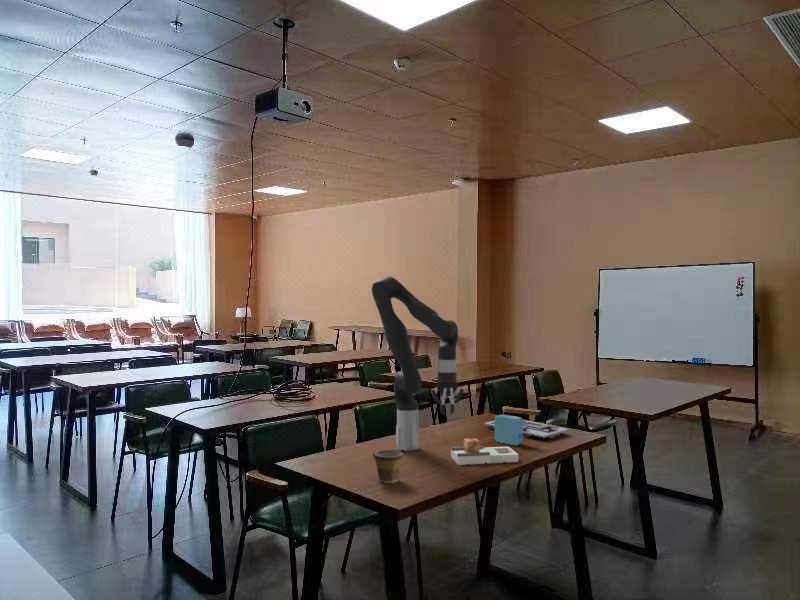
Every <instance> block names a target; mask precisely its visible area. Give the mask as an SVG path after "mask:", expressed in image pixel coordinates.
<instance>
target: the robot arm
mask: <svg viewBox="0 0 800 600" xmlns="http://www.w3.org/2000/svg"><path fill="white" fill-rule="evenodd" d="M371 293H372V297H373V300H374V302H375V306H376V308H377V311H378V314H379V317H380V320H381V323H382V326H383V331H384V334H385V335H384V336H385V339H386V343H387V346H388V349H389V350H390V352H391V354H392V355H393V356H394V358H395V359H396V361H397V362H398V364H399V366H400V370H401V371H399V372H398V373H397V374H396V376H395V378H394V381H393V382H394V385H393V389H394V401H395V404H396V425H395V434H396V436H395V441H396V442H395V445H396V446H395V447H396V450H398V451H401V450H404V451H403V452H413V450H414V451H418V450H419V403H418V401H417V400H416V399H415V398H414V396H413V395H417V394H418V393H419V392H420V391H421V389H422V385H423V383H422V378H421V374H420V372H419V369H418V366H417V363H416V361H415V357H414V354H413V351H412V347H411V343H410V339H409V335H408V330H407V327H406V325H405V324H404V323H403V321H402V320H401V319H400V317H398V315H397V314H396V312H395V310H394V307H393V303H392V299H393V298H394V299H396V300H398V301H400V302H402V304H403V305H404V306H405V307H406V309H407V310H408V312H409V313H410V315H411V316H412V317H413V318H414V319H415V320H417V321H419V322H420V323H421V324H422V325H424V326H426V327H427V328H428V329H429V330H430V331H431V332H433V334H434V335H436V336H437V337H438V338H441V343H440V345H439V346H438V348H437V350H438V351H437V352H438V353H437V357H438V359H437V384H436V387H434V388H431V389H430V393H431V394H432V397H433V398H434V401H435V402H436V403H437V404H439V410H440V412H441V414H442V415H445V414H446V411H445V410H446V406H445V403H446V402H445V401H446V398H447V397H448V398H449V414H450V415H453V413H454V412H455V404H458V403H459V402H460V399H461V398H462V396H463V394H464V392H465V391H464V390H465V389H464V388H462V387H459V386H458V383H457V382H458V381H457V380H458V379H457V375H458V374H457V368H458V367H457V350H456V348H457V342H458V336H459V328H458V327H459V326H458V325H457V323H456V322H455V321H454V320H449V319H448V320H445V319H443V318H442V317H441V316H440V315H439V314H438V312H437V311H436V310H435V309H433V308H431V307H430V306H428V305H427V304H425V303H424V302H423V301H422V300H420V299H418V298H417V297H416V296H415V295H414V294H413V293H412V292H410V291H409V289H407V288H406V287H405V286H404V284H402V283H401V282H400V281H398V280H397V279H396V278H395V277H393V276H385V277H383V278H381V279H378V280H375V282H373V284H372V285H371ZM438 392H439V394H440V398H439V397H438V395H437V394H438ZM456 392H457V393H456ZM455 393H456V396H455Z"/></svg>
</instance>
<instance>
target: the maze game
mask: <svg viewBox="0 0 800 600" xmlns="http://www.w3.org/2000/svg"><path fill="white" fill-rule="evenodd" d="M522 420H523V436H524V437H523V438H525V437H529V438H531V437H532V435H534V436H533V437H537V436H538V438H541V437H543V439H546V438H551V439H554V438H553V437H555V438H558V437H557V436H559V437H561V434H562V433H566V432H569V431H570V429H569V428H565V427H560V426H556V425H550V424H545V423H541V422H537V421H536V422H535V421H531V420H527V419H522ZM484 425H485V426H489V430H492V429H494V430H493V431H495V420H492V421H491V420H490V421H487V422H484ZM530 436H531V437H530Z"/></svg>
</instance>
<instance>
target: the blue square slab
mask: <svg viewBox="0 0 800 600" xmlns="http://www.w3.org/2000/svg"><path fill="white" fill-rule="evenodd" d="M523 420H524V419H523V418H522V417H521V416H520V417H519V416H514V415H509V414H498V415H496V416H495V417H494V421H495V430H494V440H495V442H496V443H498V442H500V443H499V444H503V443H505V444H504V445H508V444H510V445H509V446H513V445H515V447H516V446H519V445H521V444H522V445H523V443H524V437H523Z"/></svg>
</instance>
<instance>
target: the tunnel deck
mask: <svg viewBox="0 0 800 600" xmlns="http://www.w3.org/2000/svg"><path fill="white" fill-rule="evenodd" d="M450 457H451V458H452V459H453V461H455V463H456V464H457V465H458V466H465V465H467V464H468V465H486V464H485V463H487V464H503V462H506V463H519V454H518V453H517V452H516V451H514V449H512V448H511V447H510V446H508V445H507V446H491V447H487V446H486V447H484V446H483V445H479V452H476V453H465V452H464V446H457V447H456V446H453V447H451V448H450Z"/></svg>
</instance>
